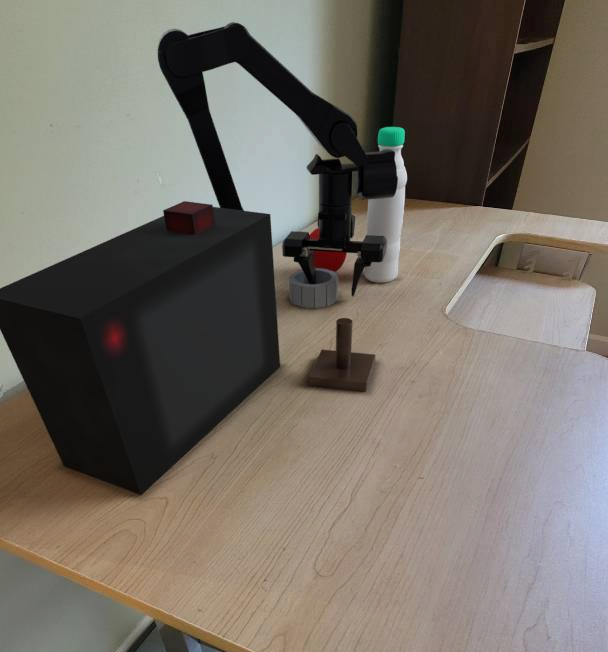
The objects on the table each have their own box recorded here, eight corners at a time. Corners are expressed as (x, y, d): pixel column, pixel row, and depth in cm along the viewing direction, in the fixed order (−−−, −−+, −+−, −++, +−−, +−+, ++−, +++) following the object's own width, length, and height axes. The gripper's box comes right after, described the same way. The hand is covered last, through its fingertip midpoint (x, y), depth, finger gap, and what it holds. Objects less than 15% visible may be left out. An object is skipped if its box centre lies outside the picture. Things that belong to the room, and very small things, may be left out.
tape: (284, 306, 101) (283, 284, 98) (296, 287, 107) (296, 266, 104) (331, 309, 99) (332, 288, 96) (341, 290, 105) (341, 269, 102)
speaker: (51, 461, 69) (-42, 269, 51) (203, 348, 90) (174, 184, 72) (141, 495, 64) (71, 294, 46) (280, 366, 84) (269, 194, 67)
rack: (308, 385, 80) (307, 332, 74) (321, 357, 86) (321, 306, 80) (365, 391, 78) (369, 337, 72) (375, 363, 84) (379, 310, 78)
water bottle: (359, 281, 108) (366, 131, 90) (369, 269, 112) (378, 124, 94) (392, 285, 106) (406, 132, 88) (401, 273, 110) (416, 125, 92)
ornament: (322, 263, 116) (322, 212, 109) (354, 272, 112) (356, 219, 104) (296, 275, 111) (294, 222, 104) (328, 285, 107) (328, 231, 100)
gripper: (394, 191, 93) (386, 282, 105) (295, 188, 97) (298, 275, 108) (385, 209, 86) (378, 304, 98) (279, 205, 90) (284, 297, 101)
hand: (333, 294), depth 101 cm, fingers open, 7 cm apart
